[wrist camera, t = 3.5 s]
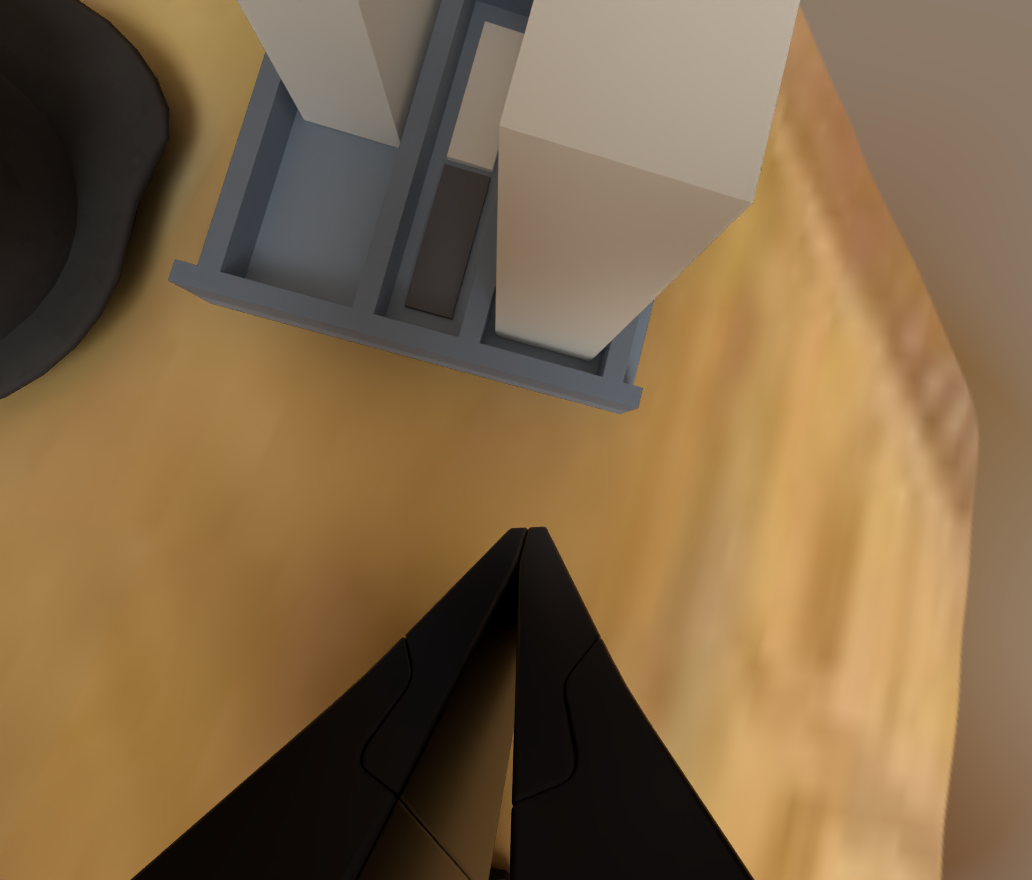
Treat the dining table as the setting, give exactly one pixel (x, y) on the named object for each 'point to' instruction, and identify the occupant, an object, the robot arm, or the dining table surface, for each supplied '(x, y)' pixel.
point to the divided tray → (395, 222)
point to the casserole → (67, 174)
